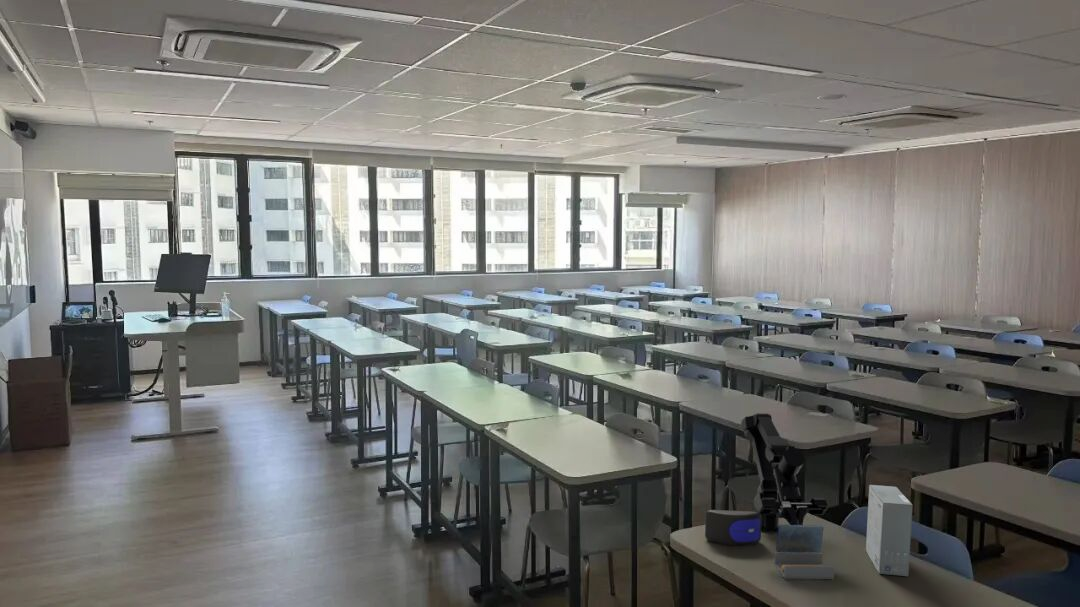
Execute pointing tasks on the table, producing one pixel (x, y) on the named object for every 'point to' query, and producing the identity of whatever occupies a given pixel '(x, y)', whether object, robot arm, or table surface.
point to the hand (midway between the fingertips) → (799, 535)
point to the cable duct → (802, 566)
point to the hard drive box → (889, 530)
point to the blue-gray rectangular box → (799, 538)
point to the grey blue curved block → (733, 527)
